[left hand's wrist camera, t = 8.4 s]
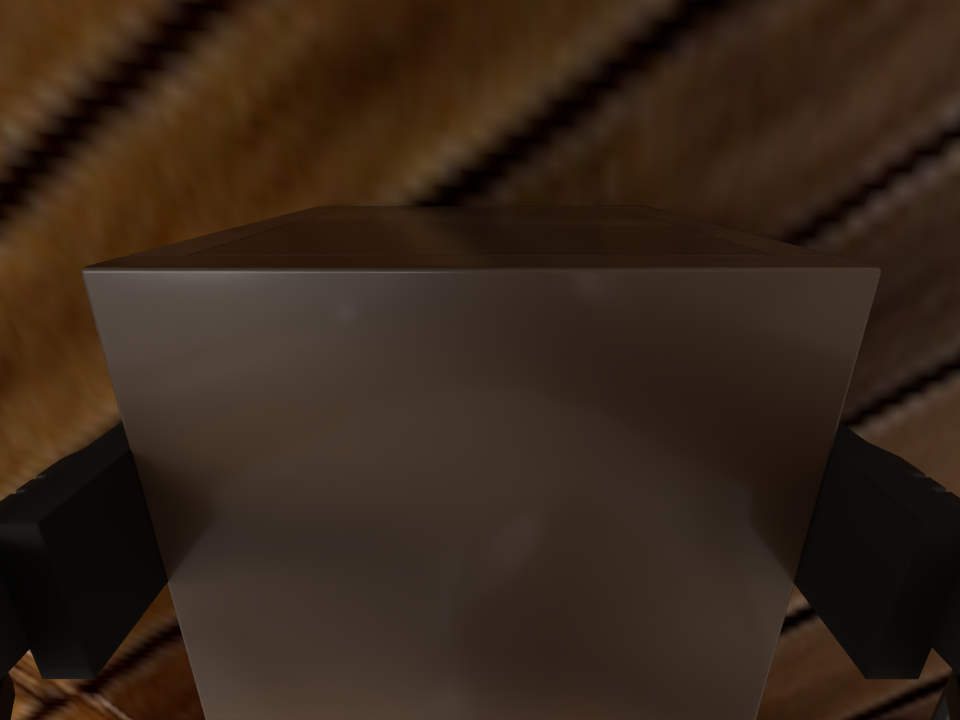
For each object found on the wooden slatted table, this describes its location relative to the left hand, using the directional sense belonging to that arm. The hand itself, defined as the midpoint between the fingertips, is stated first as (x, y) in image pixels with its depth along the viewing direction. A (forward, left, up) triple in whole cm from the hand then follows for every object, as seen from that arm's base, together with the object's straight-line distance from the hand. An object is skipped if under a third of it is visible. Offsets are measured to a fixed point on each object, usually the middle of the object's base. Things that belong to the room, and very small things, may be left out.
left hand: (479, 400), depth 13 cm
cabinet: (+2, +3, -6) cm, 7 cm away
